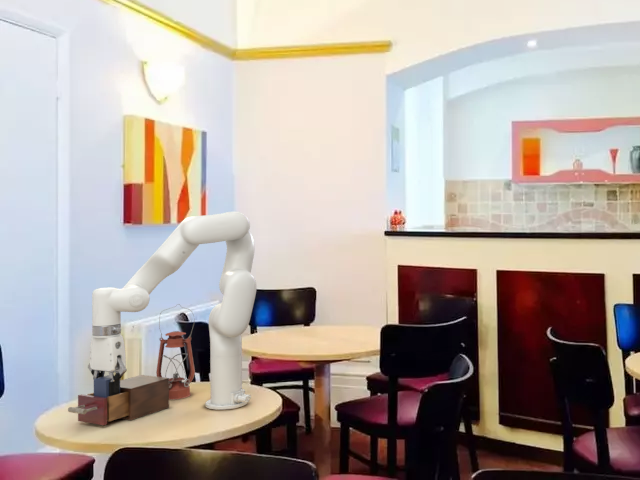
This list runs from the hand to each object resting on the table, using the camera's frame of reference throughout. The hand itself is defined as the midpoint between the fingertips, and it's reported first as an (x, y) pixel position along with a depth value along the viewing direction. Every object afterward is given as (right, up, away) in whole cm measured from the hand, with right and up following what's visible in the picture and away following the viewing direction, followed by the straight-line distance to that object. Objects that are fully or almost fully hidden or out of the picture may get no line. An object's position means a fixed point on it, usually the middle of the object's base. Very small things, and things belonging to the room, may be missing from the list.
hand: (107, 393), depth 197 cm
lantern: (+10, -9, +28) cm, 31 cm away
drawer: (-1, -7, -1) cm, 7 cm away
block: (0, 0, 0) cm, 0 cm away
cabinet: (+5, -8, +9) cm, 13 cm away
